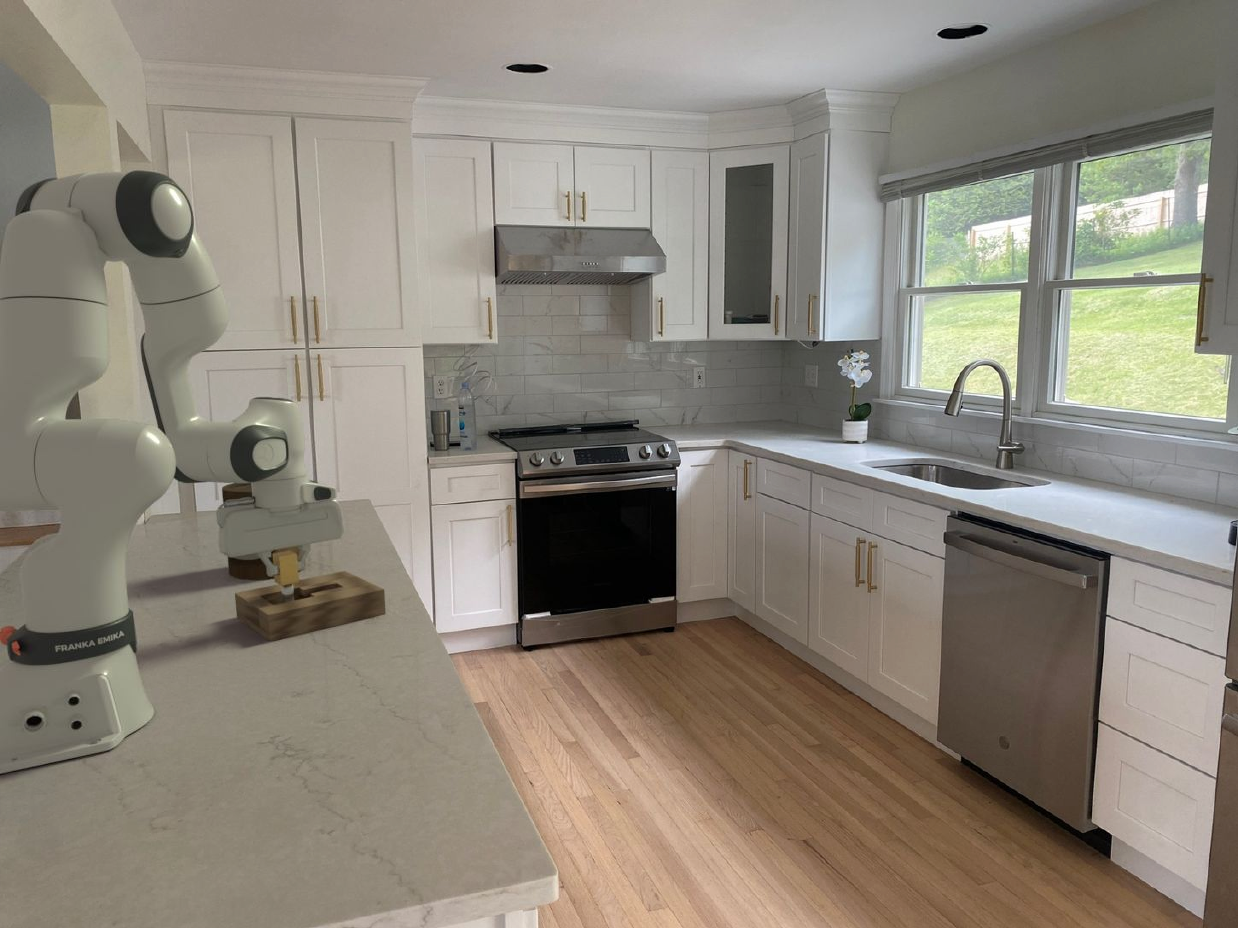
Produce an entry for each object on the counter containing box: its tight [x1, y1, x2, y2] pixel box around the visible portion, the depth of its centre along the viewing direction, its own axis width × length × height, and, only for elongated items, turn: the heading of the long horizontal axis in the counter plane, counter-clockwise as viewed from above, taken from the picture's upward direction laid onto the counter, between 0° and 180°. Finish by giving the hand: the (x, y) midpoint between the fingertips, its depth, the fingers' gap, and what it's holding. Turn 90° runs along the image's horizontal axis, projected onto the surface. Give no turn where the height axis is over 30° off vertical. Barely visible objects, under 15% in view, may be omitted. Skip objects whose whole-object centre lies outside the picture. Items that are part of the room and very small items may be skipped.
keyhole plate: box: [234, 570, 387, 642], centre depth 153 cm, size 20×16×4 cm
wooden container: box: [221, 483, 300, 581], centre depth 181 cm, size 15×15×22 cm
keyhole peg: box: [273, 550, 300, 603], centre depth 150 cm, size 5×5×10 cm
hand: (286, 572), depth 150 cm, fingers closed on keyhole peg, 3 cm apart
